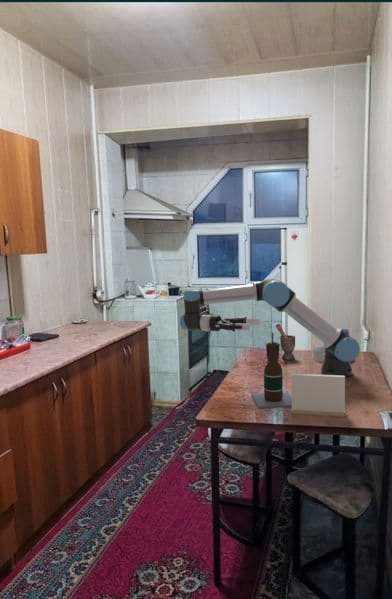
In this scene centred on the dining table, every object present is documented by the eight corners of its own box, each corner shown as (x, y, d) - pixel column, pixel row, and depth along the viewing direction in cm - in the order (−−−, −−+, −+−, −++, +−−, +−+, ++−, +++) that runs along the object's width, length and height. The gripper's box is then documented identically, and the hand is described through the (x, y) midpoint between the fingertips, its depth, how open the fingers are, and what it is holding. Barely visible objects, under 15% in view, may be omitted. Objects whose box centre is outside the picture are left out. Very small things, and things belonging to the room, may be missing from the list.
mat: (287, 394, 202) (287, 392, 202) (297, 406, 186) (297, 404, 186) (251, 395, 201) (251, 393, 201) (258, 408, 186) (258, 406, 186)
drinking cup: (280, 371, 238) (279, 334, 236) (265, 371, 240) (264, 333, 238) (280, 367, 246) (280, 331, 244) (266, 367, 247) (265, 331, 245)
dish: (349, 354, 271) (350, 346, 270) (355, 364, 249) (355, 355, 249) (311, 354, 275) (311, 346, 275) (313, 363, 254) (313, 354, 253)
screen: (344, 411, 179) (344, 374, 178) (345, 416, 174) (345, 378, 172) (292, 408, 184) (291, 372, 183) (291, 413, 179) (291, 376, 177)
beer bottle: (263, 396, 198) (262, 341, 195) (281, 396, 197) (280, 341, 195) (265, 402, 190) (264, 345, 187) (284, 402, 190) (283, 345, 187)
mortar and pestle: (274, 359, 264) (273, 325, 262) (276, 356, 272) (276, 323, 270) (294, 360, 260) (294, 326, 258) (296, 357, 268) (296, 323, 266)
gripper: (222, 326, 225) (263, 327, 216) (200, 336, 203) (245, 338, 194) (221, 311, 225) (263, 312, 215) (199, 319, 202) (244, 320, 193)
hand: (254, 324), depth 204 cm, fingers open, 13 cm apart
